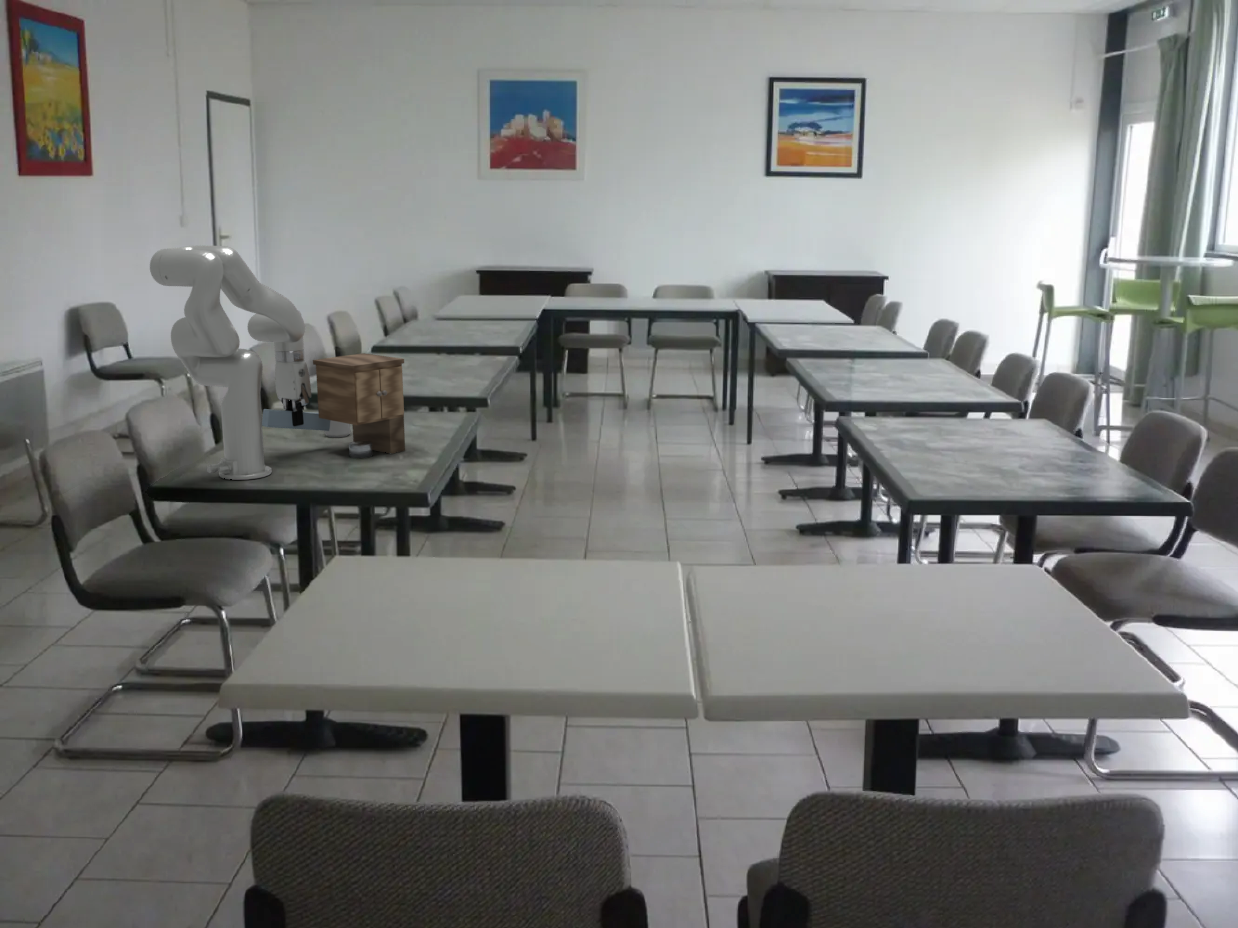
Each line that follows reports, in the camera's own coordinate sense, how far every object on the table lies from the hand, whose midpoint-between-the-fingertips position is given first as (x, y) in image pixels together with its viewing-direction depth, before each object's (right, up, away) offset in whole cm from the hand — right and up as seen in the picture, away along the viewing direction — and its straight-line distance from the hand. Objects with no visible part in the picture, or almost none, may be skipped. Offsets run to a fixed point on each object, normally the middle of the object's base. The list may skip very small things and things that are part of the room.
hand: (294, 424), depth 330 cm
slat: (0, -1, 0) cm, 1 cm away
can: (+5, -3, +26) cm, 27 cm away
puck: (+18, -9, 0) cm, 20 cm away
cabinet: (+17, -7, +5) cm, 19 cm away
